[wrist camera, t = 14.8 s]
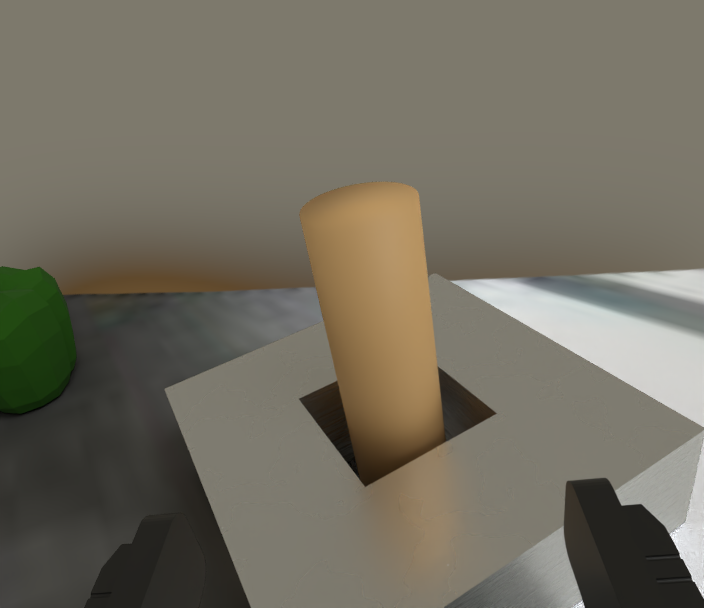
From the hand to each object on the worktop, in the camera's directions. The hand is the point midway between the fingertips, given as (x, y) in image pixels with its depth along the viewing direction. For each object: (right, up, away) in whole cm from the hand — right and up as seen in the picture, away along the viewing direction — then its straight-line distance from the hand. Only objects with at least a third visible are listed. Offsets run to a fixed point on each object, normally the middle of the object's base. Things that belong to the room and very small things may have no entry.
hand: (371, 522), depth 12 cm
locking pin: (+2, -4, +14) cm, 14 cm away
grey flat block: (+2, -4, +14) cm, 15 cm away
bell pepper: (-22, -1, +26) cm, 34 cm away
